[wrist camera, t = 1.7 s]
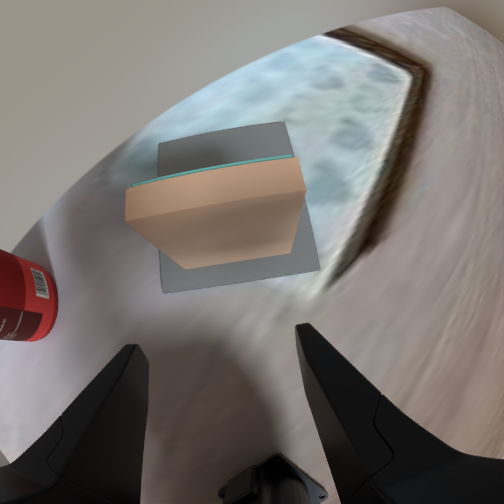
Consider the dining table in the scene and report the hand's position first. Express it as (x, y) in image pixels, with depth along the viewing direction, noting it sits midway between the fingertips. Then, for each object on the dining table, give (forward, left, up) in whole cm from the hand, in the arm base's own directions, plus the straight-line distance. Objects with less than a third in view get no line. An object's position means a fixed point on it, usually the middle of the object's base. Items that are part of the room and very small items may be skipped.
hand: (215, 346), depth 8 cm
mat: (+9, -6, -13) cm, 17 cm away
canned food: (+15, +15, -13) cm, 25 cm away
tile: (+5, -4, -12) cm, 14 cm away
